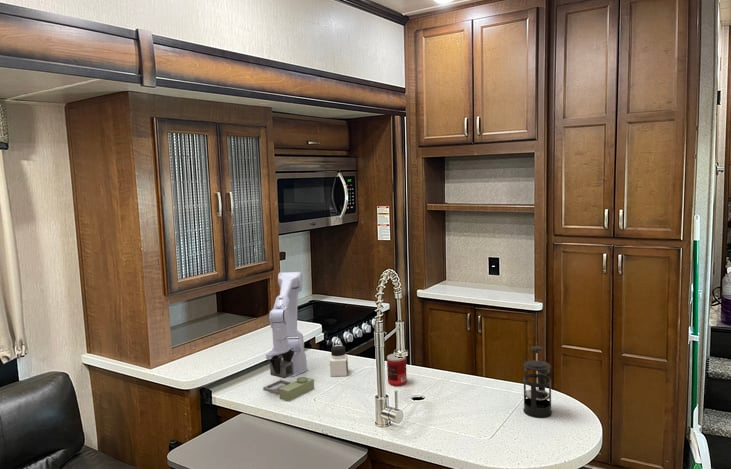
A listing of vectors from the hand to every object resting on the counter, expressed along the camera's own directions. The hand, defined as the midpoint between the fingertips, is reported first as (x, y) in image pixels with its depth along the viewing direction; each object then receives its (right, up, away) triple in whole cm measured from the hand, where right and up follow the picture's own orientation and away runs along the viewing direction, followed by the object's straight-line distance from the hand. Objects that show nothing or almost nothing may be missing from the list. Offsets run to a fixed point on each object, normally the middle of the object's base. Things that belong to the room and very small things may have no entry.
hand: (282, 371), depth 210 cm
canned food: (+46, -5, +2) cm, 47 cm away
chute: (0, -1, 0) cm, 2 cm away
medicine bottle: (+22, -5, +15) cm, 27 cm away
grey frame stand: (+2, -7, 0) cm, 8 cm away
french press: (+93, -6, -29) cm, 98 cm away
